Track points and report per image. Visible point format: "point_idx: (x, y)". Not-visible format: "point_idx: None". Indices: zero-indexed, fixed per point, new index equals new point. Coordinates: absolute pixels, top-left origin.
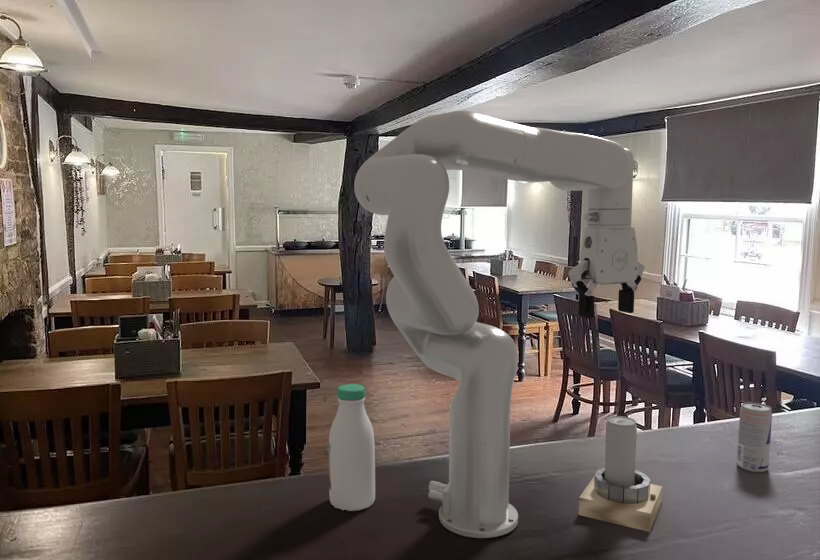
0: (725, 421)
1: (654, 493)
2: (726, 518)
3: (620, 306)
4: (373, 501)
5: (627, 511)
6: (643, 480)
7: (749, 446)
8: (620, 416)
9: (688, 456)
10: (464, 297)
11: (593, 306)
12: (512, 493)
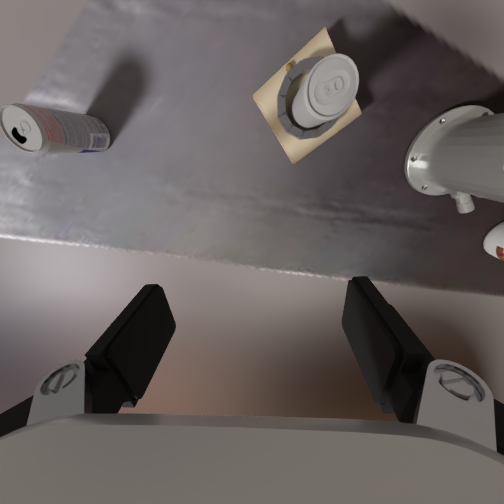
0: (57, 241)
1: (276, 80)
2: (212, 26)
3: (167, 331)
4: (500, 224)
5: None
6: (294, 77)
7: (84, 124)
8: (314, 111)
9: (148, 187)
10: None
11: (376, 307)
12: (371, 190)
